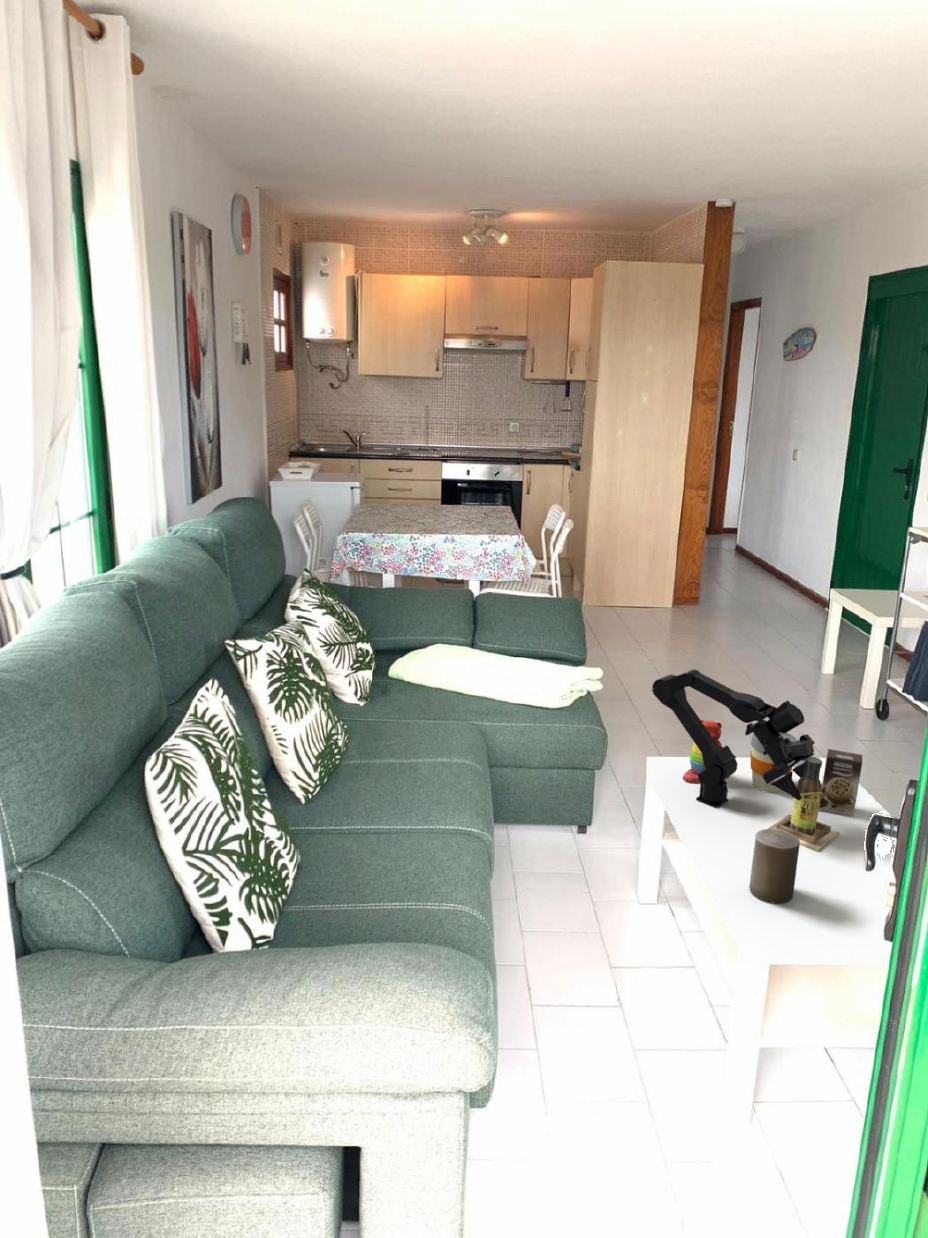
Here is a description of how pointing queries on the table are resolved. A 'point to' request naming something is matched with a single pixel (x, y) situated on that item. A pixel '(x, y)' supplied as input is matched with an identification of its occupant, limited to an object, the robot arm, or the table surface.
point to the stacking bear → (696, 754)
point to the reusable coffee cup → (763, 764)
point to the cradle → (812, 841)
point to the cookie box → (840, 782)
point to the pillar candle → (774, 865)
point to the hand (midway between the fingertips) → (807, 794)
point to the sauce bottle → (807, 798)
